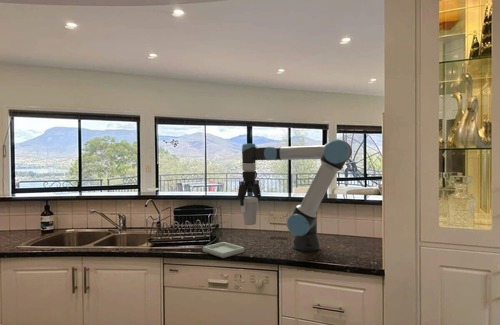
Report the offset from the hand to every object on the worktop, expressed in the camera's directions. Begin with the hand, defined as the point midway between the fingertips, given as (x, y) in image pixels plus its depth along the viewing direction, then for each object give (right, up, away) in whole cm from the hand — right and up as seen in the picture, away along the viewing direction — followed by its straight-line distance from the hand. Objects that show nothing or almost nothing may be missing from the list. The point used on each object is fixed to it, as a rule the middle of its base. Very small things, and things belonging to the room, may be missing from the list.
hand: (249, 210), depth 183 cm
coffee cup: (0, -8, 0) cm, 8 cm away
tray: (-14, -21, -7) cm, 27 cm away
